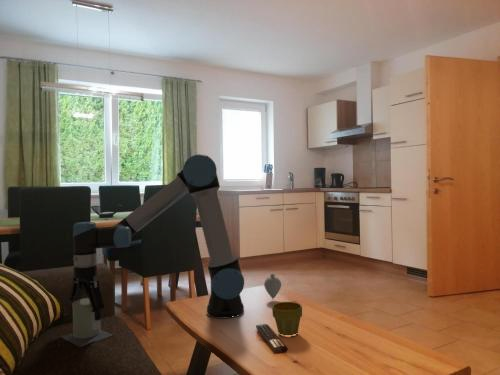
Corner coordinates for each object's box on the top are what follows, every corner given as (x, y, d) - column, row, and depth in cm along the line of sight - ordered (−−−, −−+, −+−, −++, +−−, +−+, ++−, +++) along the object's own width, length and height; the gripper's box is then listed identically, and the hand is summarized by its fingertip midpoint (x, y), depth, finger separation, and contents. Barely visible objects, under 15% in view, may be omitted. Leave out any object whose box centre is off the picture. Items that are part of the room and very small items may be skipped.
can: (90, 339, 129) (89, 304, 128) (66, 338, 130) (66, 303, 130) (105, 329, 138) (105, 296, 137) (83, 328, 139) (82, 295, 139)
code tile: (113, 335, 132) (113, 334, 132) (80, 347, 123) (80, 346, 123) (93, 326, 141) (93, 326, 141) (60, 337, 132) (60, 336, 132)
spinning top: (276, 304, 163) (276, 276, 163) (261, 301, 167) (260, 274, 167) (284, 299, 170) (283, 272, 170) (269, 297, 174) (269, 271, 174)
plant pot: (267, 331, 133) (266, 304, 133) (291, 326, 137) (291, 299, 137) (283, 342, 123) (282, 312, 123) (308, 336, 128) (308, 307, 128)
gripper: (58, 263, 139) (60, 320, 139) (93, 271, 123) (94, 336, 123) (78, 259, 145) (79, 315, 145) (114, 267, 129) (115, 329, 129)
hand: (86, 325), depth 134 cm, fingers open, 13 cm apart
